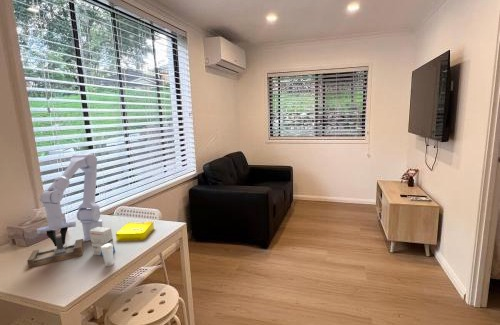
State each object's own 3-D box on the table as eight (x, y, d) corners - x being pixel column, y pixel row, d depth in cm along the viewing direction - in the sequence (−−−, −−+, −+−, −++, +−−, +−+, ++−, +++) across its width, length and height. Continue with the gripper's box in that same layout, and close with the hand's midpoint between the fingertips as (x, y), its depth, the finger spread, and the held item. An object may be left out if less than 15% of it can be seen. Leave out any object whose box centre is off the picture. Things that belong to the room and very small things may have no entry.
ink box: (115, 251, 131) (111, 227, 129) (107, 256, 127) (103, 232, 125) (101, 249, 134) (97, 226, 132) (92, 254, 130) (88, 230, 128)
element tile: (155, 228, 157) (154, 220, 156) (144, 240, 142) (143, 231, 141) (128, 229, 157) (127, 221, 156) (115, 241, 142) (114, 233, 141)
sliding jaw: (67, 248, 133) (64, 233, 132) (65, 253, 128) (62, 238, 127) (57, 250, 132) (54, 235, 130) (55, 255, 126) (52, 240, 125)
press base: (84, 246, 138) (82, 238, 138) (82, 255, 129) (80, 247, 129) (34, 257, 130) (32, 249, 129) (28, 267, 121) (26, 258, 120)
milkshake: (104, 262, 122) (100, 240, 120) (117, 261, 122) (113, 239, 120) (99, 268, 117) (96, 245, 116) (113, 266, 118) (109, 244, 116)
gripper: (32, 222, 120) (38, 252, 123) (72, 215, 126) (77, 244, 129) (36, 217, 127) (42, 245, 129) (74, 211, 133) (79, 238, 135)
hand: (60, 244), depth 129 cm, fingers closed on sliding jaw, 2 cm apart
